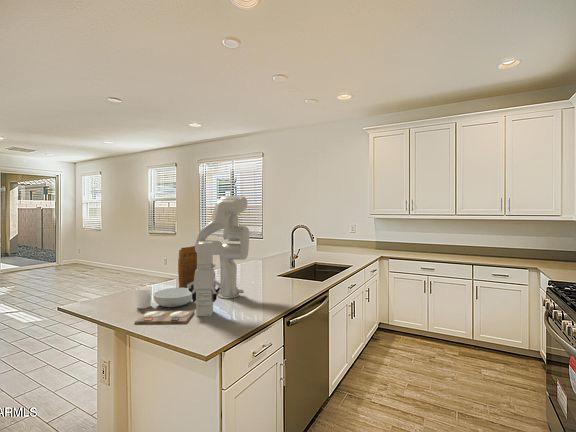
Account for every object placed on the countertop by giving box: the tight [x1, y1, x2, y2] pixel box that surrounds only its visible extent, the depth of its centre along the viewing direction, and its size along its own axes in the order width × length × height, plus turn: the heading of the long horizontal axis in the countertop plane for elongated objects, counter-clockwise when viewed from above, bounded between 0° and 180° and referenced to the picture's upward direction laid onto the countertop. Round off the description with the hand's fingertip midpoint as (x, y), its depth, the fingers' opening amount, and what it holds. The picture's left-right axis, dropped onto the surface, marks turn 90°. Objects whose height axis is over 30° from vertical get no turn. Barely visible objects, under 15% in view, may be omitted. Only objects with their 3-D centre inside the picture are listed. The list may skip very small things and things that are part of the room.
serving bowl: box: [152, 287, 193, 308], centre depth 165 cm, size 21×21×7 cm
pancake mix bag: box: [177, 245, 197, 290], centre depth 198 cm, size 7×19×28 cm, turn 133°
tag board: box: [134, 310, 195, 325], centre depth 144 cm, size 23×14×2 cm, turn 93°
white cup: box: [135, 285, 153, 309], centre depth 161 cm, size 8×8×10 cm
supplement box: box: [195, 290, 214, 317], centre depth 150 cm, size 7×7×13 cm
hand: (204, 301), depth 150 cm, fingers open, 9 cm apart
